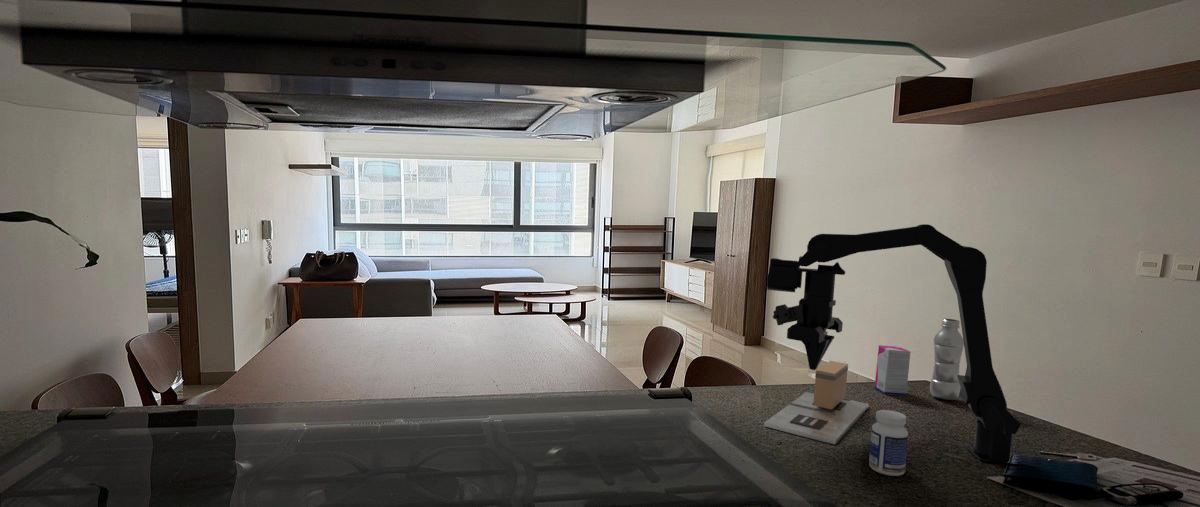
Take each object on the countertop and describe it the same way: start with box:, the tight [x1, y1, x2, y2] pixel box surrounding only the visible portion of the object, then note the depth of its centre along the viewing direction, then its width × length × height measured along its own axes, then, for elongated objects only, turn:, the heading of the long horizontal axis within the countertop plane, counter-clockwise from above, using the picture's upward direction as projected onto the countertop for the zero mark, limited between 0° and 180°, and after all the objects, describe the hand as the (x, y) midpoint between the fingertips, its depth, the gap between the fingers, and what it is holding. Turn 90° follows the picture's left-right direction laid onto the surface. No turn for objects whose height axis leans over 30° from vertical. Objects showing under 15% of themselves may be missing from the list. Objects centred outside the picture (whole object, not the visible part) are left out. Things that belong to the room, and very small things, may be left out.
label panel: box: [763, 389, 870, 446], centre depth 128 cm, size 14×30×1 cm, turn 144°
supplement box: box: [874, 344, 911, 396], centre depth 150 cm, size 6×6×12 cm
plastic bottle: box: [929, 318, 964, 401], centre depth 145 cm, size 6×7×20 cm
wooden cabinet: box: [813, 360, 849, 409], centre depth 134 cm, size 4×12×8 cm, turn 144°
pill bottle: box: [868, 409, 909, 477], centre depth 101 cm, size 6×6×10 cm
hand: (812, 369), depth 121 cm, fingers closed
